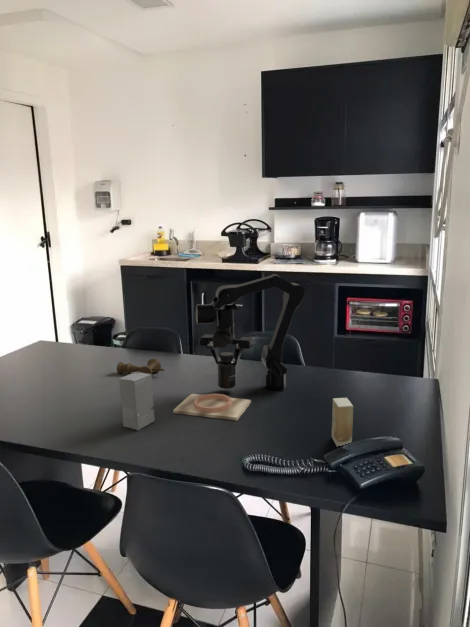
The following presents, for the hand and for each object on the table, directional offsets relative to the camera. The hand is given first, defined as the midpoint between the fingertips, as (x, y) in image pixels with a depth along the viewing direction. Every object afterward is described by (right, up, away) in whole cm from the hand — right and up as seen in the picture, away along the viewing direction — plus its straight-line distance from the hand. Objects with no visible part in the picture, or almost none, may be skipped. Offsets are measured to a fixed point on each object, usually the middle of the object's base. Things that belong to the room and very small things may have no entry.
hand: (226, 364), depth 181 cm
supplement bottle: (0, -8, +2) cm, 8 cm away
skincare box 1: (-27, -16, -23) cm, 39 cm away
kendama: (-34, -7, +22) cm, 42 cm away
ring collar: (-4, -13, -12) cm, 18 cm away
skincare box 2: (+33, -18, -37) cm, 53 cm away
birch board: (-4, -13, -12) cm, 18 cm away
